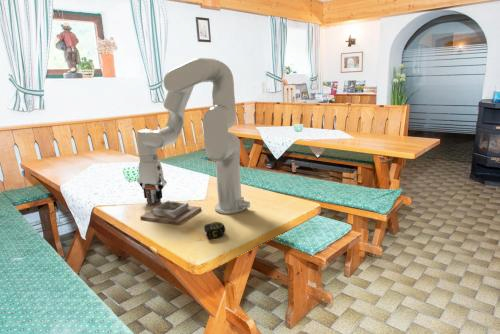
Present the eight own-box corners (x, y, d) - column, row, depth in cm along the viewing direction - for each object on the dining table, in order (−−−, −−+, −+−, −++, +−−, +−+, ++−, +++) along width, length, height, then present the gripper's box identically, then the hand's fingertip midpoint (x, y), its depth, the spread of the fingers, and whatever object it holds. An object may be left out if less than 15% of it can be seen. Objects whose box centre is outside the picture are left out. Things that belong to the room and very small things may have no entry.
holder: (201, 210, 146) (200, 201, 145) (178, 225, 132) (177, 215, 131) (165, 205, 153) (164, 197, 152) (140, 219, 139) (139, 210, 138)
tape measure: (204, 232, 125) (203, 223, 124) (223, 230, 126) (223, 220, 125) (206, 241, 118) (205, 230, 117) (226, 238, 120) (226, 227, 119)
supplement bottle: (145, 203, 158) (142, 178, 155) (157, 200, 161) (155, 176, 158) (150, 206, 153) (146, 181, 150) (163, 203, 156) (160, 178, 154)
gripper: (170, 157, 152) (174, 197, 156) (138, 155, 159) (143, 193, 163) (159, 161, 145) (164, 202, 150) (127, 159, 152) (132, 198, 157)
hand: (153, 197), depth 156 cm, fingers closed on supplement bottle, 6 cm apart
